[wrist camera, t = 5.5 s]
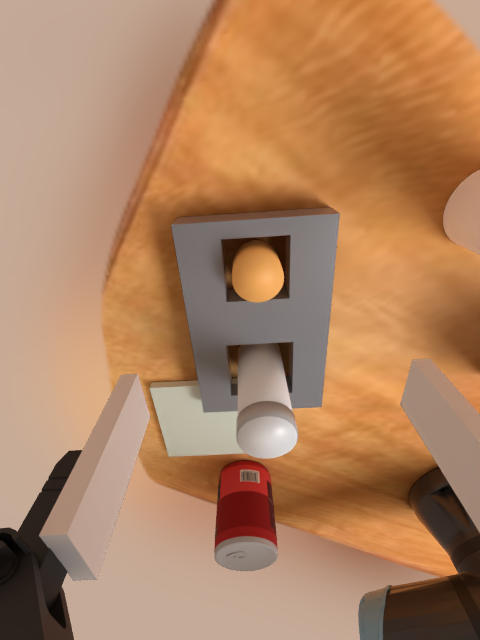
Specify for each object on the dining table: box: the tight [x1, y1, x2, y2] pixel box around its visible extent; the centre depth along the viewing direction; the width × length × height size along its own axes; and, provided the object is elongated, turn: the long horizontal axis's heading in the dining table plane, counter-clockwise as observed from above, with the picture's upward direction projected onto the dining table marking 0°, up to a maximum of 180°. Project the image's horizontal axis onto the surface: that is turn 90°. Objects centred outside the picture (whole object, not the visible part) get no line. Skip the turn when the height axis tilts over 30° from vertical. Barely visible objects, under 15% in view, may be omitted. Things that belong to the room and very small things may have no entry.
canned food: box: [214, 461, 278, 571], centre depth 43 cm, size 8×8×11 cm
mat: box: [150, 378, 245, 457], centre depth 41 cm, size 13×13×1 cm
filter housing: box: [171, 207, 340, 413], centre depth 32 cm, size 22×14×3 cm, turn 4°
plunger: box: [232, 240, 284, 303], centre depth 28 cm, size 4×4×4 cm
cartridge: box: [236, 343, 298, 459], centre depth 31 cm, size 5×5×12 cm
